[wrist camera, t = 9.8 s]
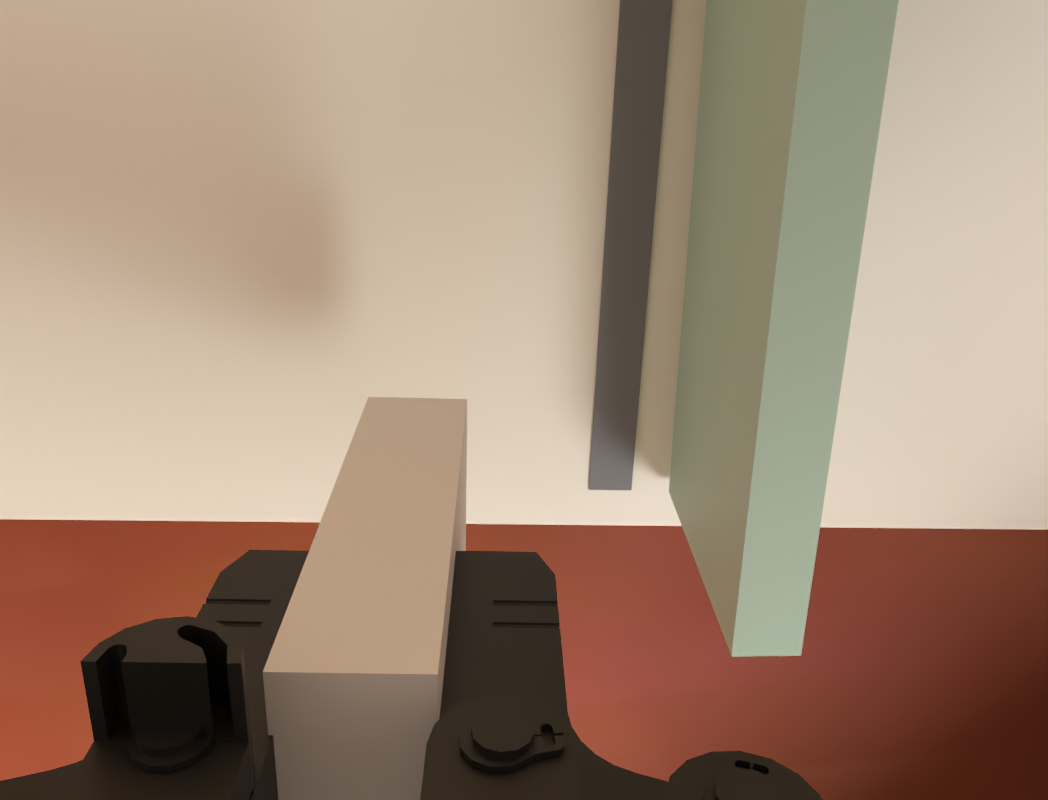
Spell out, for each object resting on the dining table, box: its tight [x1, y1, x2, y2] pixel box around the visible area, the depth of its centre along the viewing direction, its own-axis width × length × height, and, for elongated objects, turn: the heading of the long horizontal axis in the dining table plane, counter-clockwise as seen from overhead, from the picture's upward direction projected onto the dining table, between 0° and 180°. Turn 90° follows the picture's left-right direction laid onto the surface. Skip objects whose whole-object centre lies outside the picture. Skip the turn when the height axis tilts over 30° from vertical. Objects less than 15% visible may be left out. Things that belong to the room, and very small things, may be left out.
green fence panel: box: [669, 0, 899, 657], centre depth 16 cm, size 1×12×6 cm, turn 179°
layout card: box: [0, 0, 1048, 530], centre depth 19 cm, size 19×30×1 cm, turn 88°
